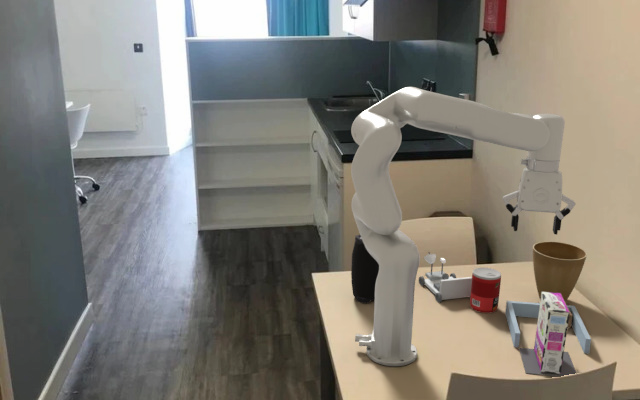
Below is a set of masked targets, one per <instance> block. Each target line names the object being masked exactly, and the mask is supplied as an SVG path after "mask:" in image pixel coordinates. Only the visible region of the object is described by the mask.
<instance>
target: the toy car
mask: <svg viewBox="0 0 640 400" xmlns="http://www.w3.org/2000/svg"><path fill="white" fill-rule="evenodd" d="M427 253H428V254H426V255H425V256H423V259H424V260H425V261H426V262H427V263H428V264H429V265H431V267H430V272H424V273H425V275H424V276H425V277H426V278H424V276H422V275H420V276H419V277H418V283H419V285H420V286H422V287H423V286H425V287H427V288H428V289H429V291H431V293H433V294H434V295H435V297H434V298H435V301H436V302H437V303H438V304H440V303H442V302H443V300H453V299H462V298H463V299H464V298H470V295H471V283H472V276H467V277H457V275H456V273H455V272H452V273H450V274H448V273H447V272H445V271H444V270H443V269H444V264H447V263H446V259H445V258H444V257H439V262H441V270H440V271H439V270H438V271H433V265H434V264H435V262H436V259H437V254H436V253H431V252H430V251H428V252H427Z"/></svg>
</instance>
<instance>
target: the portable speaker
mask: <svg viewBox="0 0 640 400" xmlns="http://www.w3.org/2000/svg"><path fill="white" fill-rule="evenodd" d="M354 238H355V239H354V244H353V249H352V253H351V266H350V267H351V271H350V275H351V289H352V295H353V297H354V299H355V300H356V302H357V303H361V304H369V303H370V302H373V301H375V284H376V279H377V276H378V272H379V264H378V263H377V261H376V260H375V259H374V258H373V257H372V256H371V255H370V254H369V252H368V251H367V249H366V247H365V245H364V243H363V240H362V238H361V235H360V234H358V235H355V237H354Z"/></svg>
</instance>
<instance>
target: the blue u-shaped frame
mask: <svg viewBox="0 0 640 400" xmlns="http://www.w3.org/2000/svg"><path fill="white" fill-rule="evenodd" d="M505 305H506V306H505V317H506V322H507V325H508V330H509V333H510V338H511V340H512V344H513V347H514V348H520V340H521V339H520V338H521V331H520V327H519V324H518V321H517V317H520V318H521V317H522V318H535V319H538V315H539V308H540V302H529V301H528V302H527V301H517V300H514V301H513V300H506V304H505ZM566 306H567V308H568V309H569V310H570V312H571V314H572V322H571V328H572V329H573V332H574V334H575V337H576V339H577V340H578V343H579V345H580V348H581V349H582V351H583V353H584V354H590V350H591V342H592V338H591V336H590V334H589V332H588V330H587V328H586V326H585V324H584V321H583V319H582V318H581V316H580V314H579V312H578V310H577V308H576V305H571V304H569V305H568V304H566Z"/></svg>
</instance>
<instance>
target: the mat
mask: <svg viewBox="0 0 640 400" xmlns="http://www.w3.org/2000/svg"><path fill="white" fill-rule="evenodd" d="M518 350H519V355H520V357H521V361H522V364H523V368H524V371H525V374H528V375H538V376H547V377H558V376H564V375H569V374H575V373H577V370H576V368H575V366H574V363H573V360H572V358H571V356H570V354H569V352H568V351H564V354H563V361H562V368H561V374H551V373H543V372H540V368H539V365H538V361H537V358H536V355H535V352H534V348H528V347H527V348H526V347H518Z"/></svg>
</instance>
